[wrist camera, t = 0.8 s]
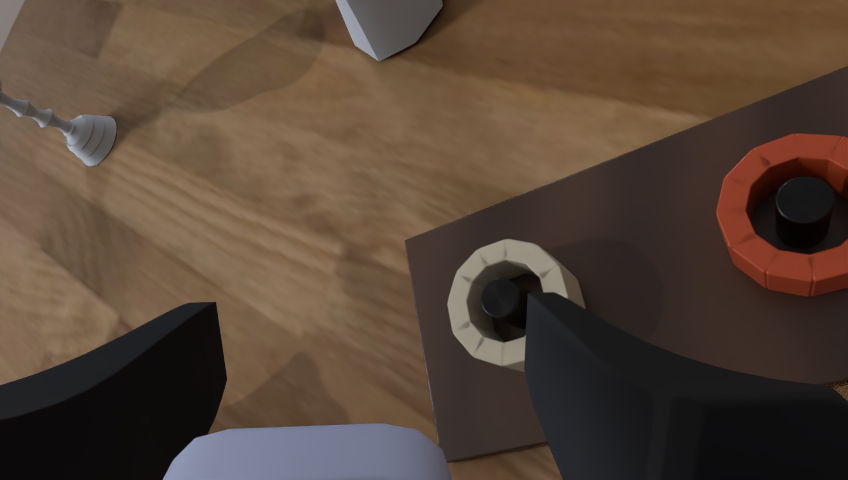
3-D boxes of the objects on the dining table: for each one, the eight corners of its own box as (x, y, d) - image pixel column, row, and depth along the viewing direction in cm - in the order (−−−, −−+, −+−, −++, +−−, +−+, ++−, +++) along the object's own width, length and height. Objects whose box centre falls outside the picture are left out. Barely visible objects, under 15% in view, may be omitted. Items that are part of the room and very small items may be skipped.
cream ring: (597, 266, 28) (580, 251, 25) (567, 385, 27) (547, 380, 24) (491, 246, 31) (467, 230, 28) (460, 352, 30) (434, 345, 28)
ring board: (901, 55, 25) (921, -10, 21) (1073, 334, 20) (1139, 312, 16) (412, 244, 34) (369, 222, 31) (450, 463, 30) (404, 467, 26)
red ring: (901, 169, 23) (915, 138, 20) (875, 309, 22) (886, 295, 20) (739, 156, 26) (734, 128, 23) (711, 279, 25) (704, 263, 23)
